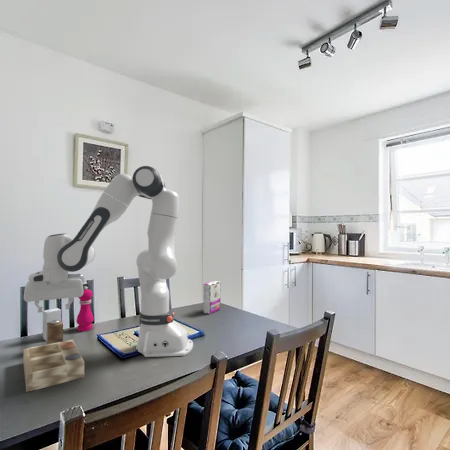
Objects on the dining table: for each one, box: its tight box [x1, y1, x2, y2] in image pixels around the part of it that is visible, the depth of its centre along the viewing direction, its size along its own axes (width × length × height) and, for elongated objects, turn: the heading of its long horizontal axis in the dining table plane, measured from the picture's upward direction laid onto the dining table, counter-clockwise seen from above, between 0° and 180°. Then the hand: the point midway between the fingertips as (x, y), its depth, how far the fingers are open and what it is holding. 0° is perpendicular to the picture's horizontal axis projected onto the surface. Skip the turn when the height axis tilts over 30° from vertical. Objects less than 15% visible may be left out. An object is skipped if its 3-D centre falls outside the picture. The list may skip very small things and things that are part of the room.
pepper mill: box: [76, 285, 95, 332], centre depth 139 cm, size 7×7×20 cm
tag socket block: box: [22, 339, 85, 393], centre depth 100 cm, size 16×22×5 cm
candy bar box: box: [202, 280, 221, 315], centre depth 171 cm, size 11×5×16 cm, turn 149°
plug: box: [46, 320, 64, 345], centre depth 117 cm, size 5×5×11 cm
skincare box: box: [42, 307, 62, 342], centre depth 128 cm, size 6×4×12 cm
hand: (54, 310), depth 117 cm, fingers open, 8 cm apart
